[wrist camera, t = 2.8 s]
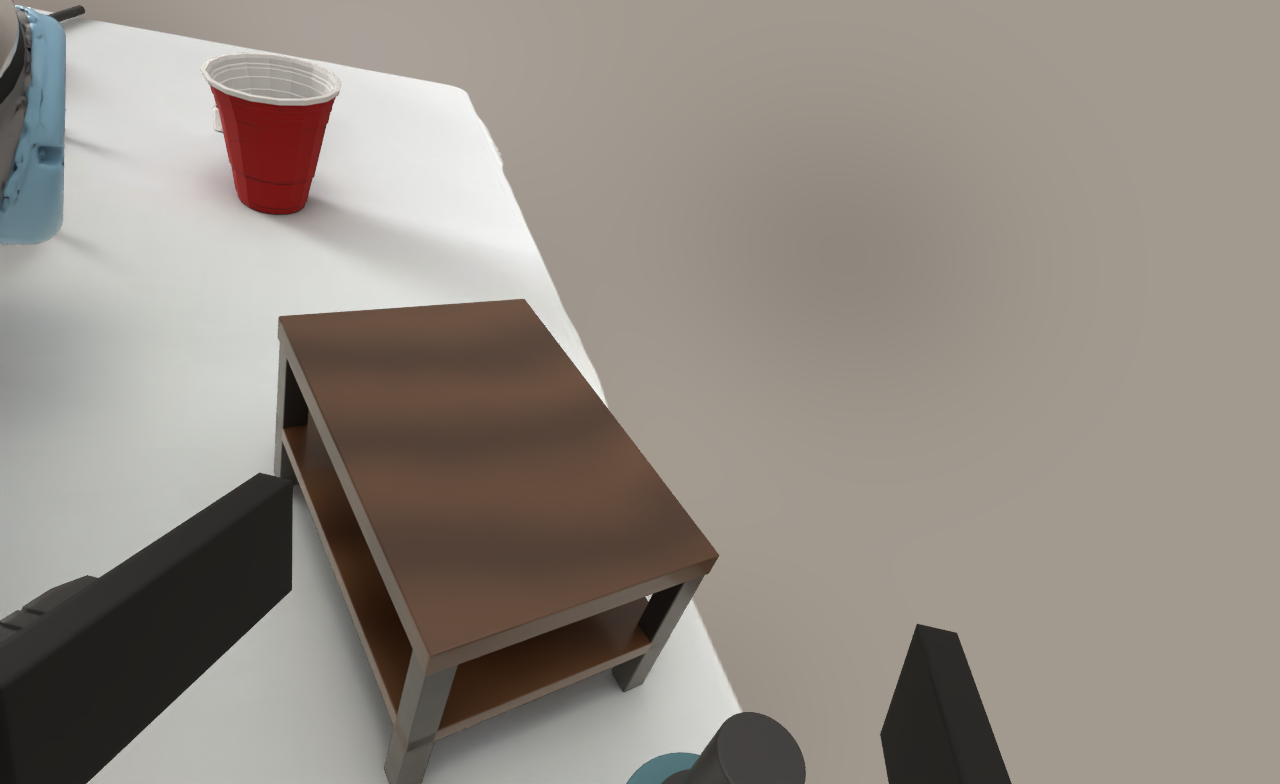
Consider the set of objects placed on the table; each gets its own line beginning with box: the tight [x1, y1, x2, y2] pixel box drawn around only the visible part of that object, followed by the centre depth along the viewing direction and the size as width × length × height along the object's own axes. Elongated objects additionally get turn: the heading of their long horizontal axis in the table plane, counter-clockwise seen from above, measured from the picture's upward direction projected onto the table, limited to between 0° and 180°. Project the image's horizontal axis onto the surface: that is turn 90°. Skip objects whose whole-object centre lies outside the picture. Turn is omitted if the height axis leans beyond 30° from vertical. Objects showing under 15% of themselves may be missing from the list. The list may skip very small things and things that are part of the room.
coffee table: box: [274, 299, 719, 784], centre depth 44 cm, size 22×15×12 cm
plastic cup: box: [200, 53, 341, 214], centre depth 69 cm, size 11×11×12 cm
